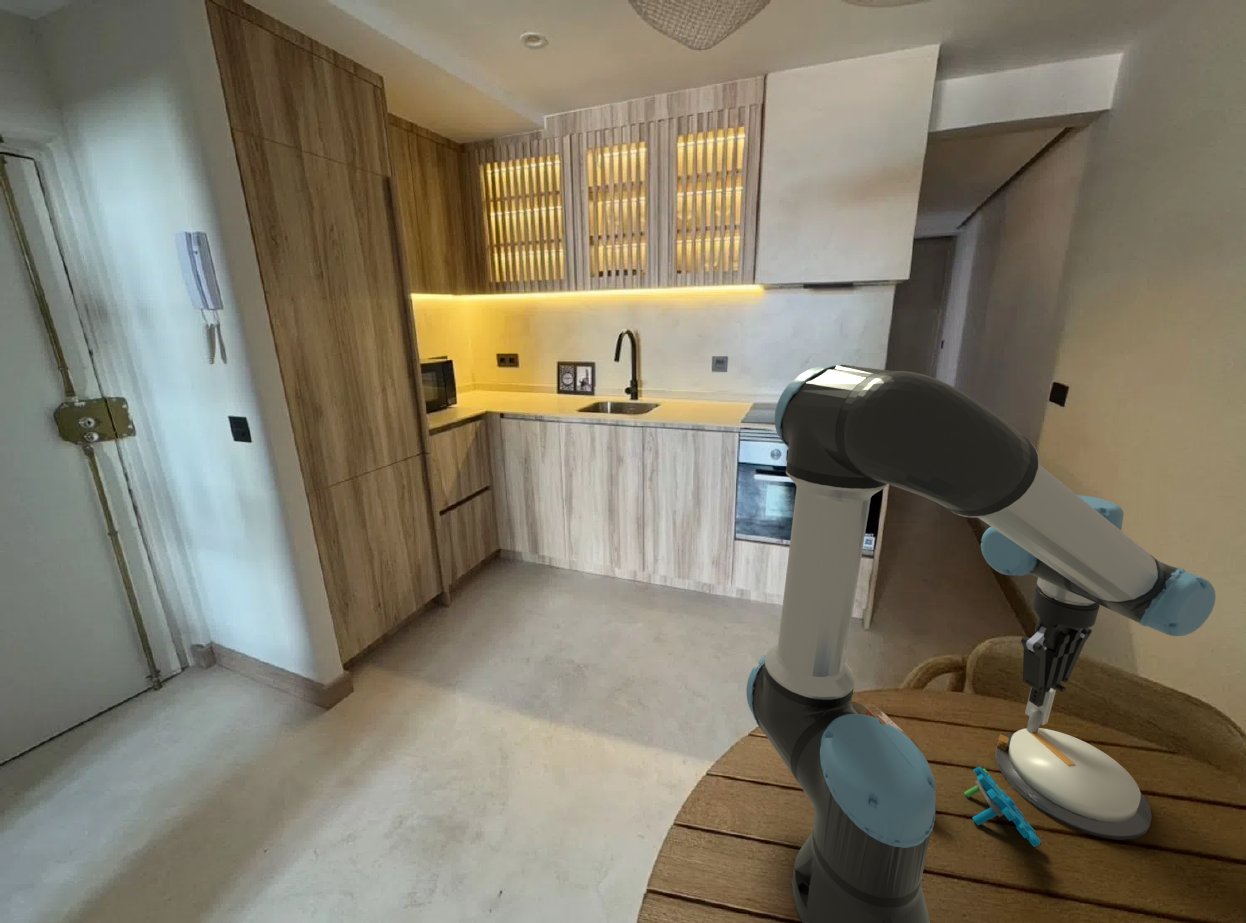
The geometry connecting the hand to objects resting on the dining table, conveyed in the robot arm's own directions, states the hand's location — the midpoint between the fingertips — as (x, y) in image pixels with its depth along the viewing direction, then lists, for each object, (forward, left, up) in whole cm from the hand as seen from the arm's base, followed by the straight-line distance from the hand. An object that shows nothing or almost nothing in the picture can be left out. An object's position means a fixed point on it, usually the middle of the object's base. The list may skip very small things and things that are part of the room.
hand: (1036, 718), depth 83 cm
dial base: (+5, -6, -5) cm, 9 cm away
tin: (-16, -23, -5) cm, 28 cm away
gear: (-1, -21, -5) cm, 22 cm away
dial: (+5, -6, -4) cm, 9 cm away
